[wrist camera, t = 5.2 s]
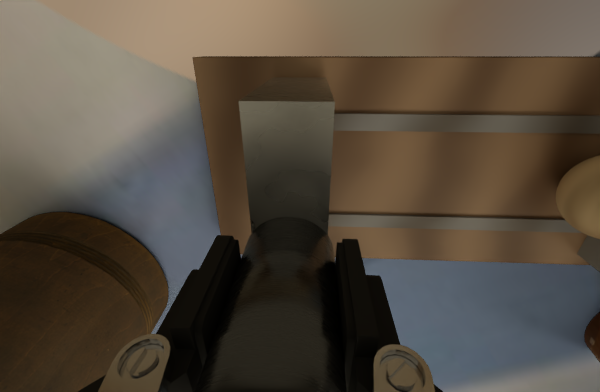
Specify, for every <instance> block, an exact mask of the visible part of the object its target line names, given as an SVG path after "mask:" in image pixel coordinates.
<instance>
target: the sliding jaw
mask: <svg viewBox="0 0 600 392" xmlns="http://www.w3.org/2000/svg"><path fill="white" fill-rule="evenodd" d="M239 110H240V120H241V131H242V141H243V151H244V161H245V171H246V182H247V192H248V202H249V212H250V222H251V235H250V236H249V238H248V241H247V244H246V247H245V250H244V252H243V255H242V258H241V261H240V264H239V267H238V269H237V272H236V275H235V278H234V281H233V284H232V287H231V289H230V292H229V295H228V298H227V301H226V304H225V306H224V309H223V312H222V315H221V318H220V321H219V324H218V326H217V329H216V332H215V335H214V338H213V341H212V343H211V346H210V349H209V352H208V355H207V358H206V361H205V363H204V366H203V369H202V372H201V375H200V378H199V381H198V383H197V386H196V389H195V392H347V388H346V377H345V366H344V357H343V346H342V335H341V324H340V313H339V302H338V291H337V280H336V269H335V257H334V249H333V245H332V242H331V240H330V238H329V236H328V220H329V201H330V183H331V165H332V146H333V128H334V110H335V101H334V98H333V95H332V92H331V90H330V87H329V84H328V81H327V79H326V78H290V77H273V78H271V79H270V80H268V81H267V82H265V83H264V84H263V85H261V86H260V87H258V88H257V89H255V90H254V91H252V92H251V93H250V94H248V95H247V96H245V97H244V98H242V99H241V100H239Z"/></svg>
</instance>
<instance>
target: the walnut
mask: <svg viewBox="0 0 600 392" xmlns="http://www.w3.org/2000/svg"><path fill="white" fill-rule="evenodd" d="M556 204H557V207H558V210H559V212H560V213H561V215H562V217H563V218H564V219H565V220H566V221H567V222H568V223H569V224H570V225H571V226H572V227H574V228H575V229H577V230H578V231H580V232H582V233H584V234H586V235H588V236H591V237H594V238H597V239H600V155H599V156H595V157H592V158H589V159H587V160H585V161H583V162H581V163H579V164H577V165H575V166H574V167H573V168H571V169H570V170H569V171H568V172H567V173H566V174H565V175H564V176H563V178H562V179H561V181H560V182H559V185H558V187H557V190H556Z"/></svg>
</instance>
